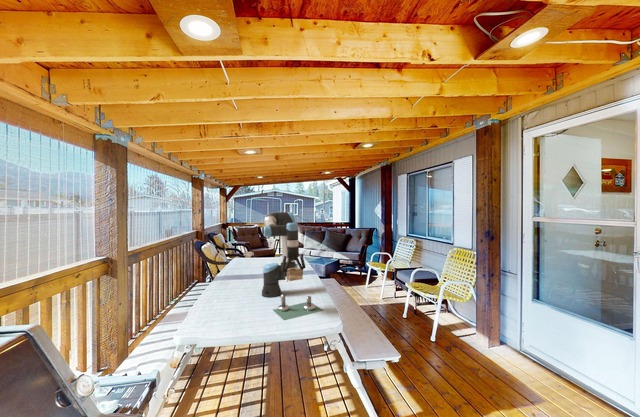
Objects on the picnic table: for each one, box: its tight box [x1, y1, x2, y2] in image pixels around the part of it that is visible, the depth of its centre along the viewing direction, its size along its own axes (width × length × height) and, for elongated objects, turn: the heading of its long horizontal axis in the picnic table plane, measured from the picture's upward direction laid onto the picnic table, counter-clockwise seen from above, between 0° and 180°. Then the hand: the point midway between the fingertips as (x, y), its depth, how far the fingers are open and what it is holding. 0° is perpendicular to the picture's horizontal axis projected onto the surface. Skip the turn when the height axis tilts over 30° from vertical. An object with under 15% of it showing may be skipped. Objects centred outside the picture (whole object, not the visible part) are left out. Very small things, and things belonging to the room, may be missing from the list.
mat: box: [272, 301, 324, 321], centre depth 190 cm, size 20×28×1 cm
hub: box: [303, 295, 316, 311], centre depth 191 cm, size 8×8×8 cm
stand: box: [277, 293, 290, 312], centre depth 191 cm, size 7×7×10 cm
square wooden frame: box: [285, 266, 304, 282], centre depth 190 cm, size 9×9×6 cm
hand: (293, 280), depth 190 cm, fingers closed on square wooden frame, 9 cm apart
